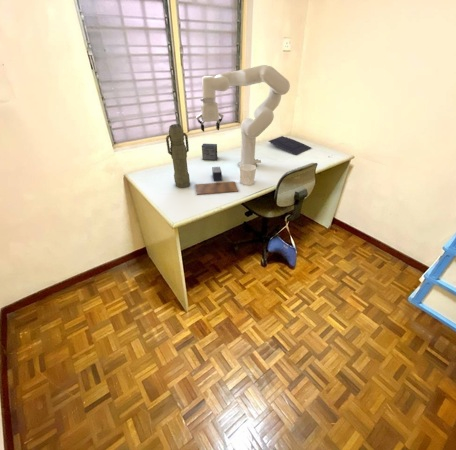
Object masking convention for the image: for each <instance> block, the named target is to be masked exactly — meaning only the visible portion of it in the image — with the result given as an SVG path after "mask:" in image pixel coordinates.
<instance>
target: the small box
mask: <svg viewBox="0 0 456 450" xmlns="http://www.w3.org/2000/svg"><path fill="white" fill-rule="evenodd" d="M201 155H202V156H201V157H202V160H203V161H217V160H218V143H202V145H201Z"/></svg>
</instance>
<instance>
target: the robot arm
mask: <svg viewBox="0 0 456 450" xmlns="http://www.w3.org/2000/svg"><path fill="white" fill-rule="evenodd" d="M261 83H265V84H266V85H267V86H268V87H269V93H268V95H267V97H266V98H265V99H264V100H263V101H262V102H261V103H260V104H259V106H257V107H256V109H254V112H253V117H254V119H253V118H251V117H246V118H244V119H243V120H242V121H241V123H240V136H241V141H240V143H241V145H240V162H238V167H240V166H241V165H244V164H251V165H254V166H256V167H257V164H261V163H262V160H261V159H258V158H257V159H256V157H255V156H256V143H257V141H256V138H258V137H259V136H260V135H261V134H262V133H264V131H265V130H266V129H268V127H269V126H271V124H272V122H273V121H274V118H275V115H274V111H275V110H276V109H277V108H278V106H279V105H280V103H281V100H282V96H284V95H286V94H287V93H288V92H290V89H291V85H290V81H289V80H288V79H287V78H286V77H285V76H284V75H283V74H282V73H280V72H279V71H278V70H277V69H276V68H275V67H273V66H272V65H267V64H262V65H258V66H253V67H249V68H244V69H238V70H234V71H228V72H222V73H218V74H217V75H215V76H212V75H204V76H202V77H201V89H202V91H201V92H202V98H200V100H199V101H200V102H202V103H201V111H200V114H198V115H196V117H195V119H196V121H197V122H198V124H199V125H200V130H201V131H202V132H203V133H204V132H205V123H209V122H210V123H211V122H216V123H215V129H216V130H217V131H220V127H221V126H220V125H221V122H222V121H223V118H224V115H223V114H222V113H220V112H219V105H218V102H216V101H217V99H216V98H217V97H216V95H217V94H216V91H217V92H225V91H228V90H229V88H230V87H236V86H237V87H247V86H252V85H256V84H261ZM200 119H201V120H200Z"/></svg>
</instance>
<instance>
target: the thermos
mask: <svg viewBox="0 0 456 450" xmlns="http://www.w3.org/2000/svg"><path fill="white" fill-rule="evenodd" d="M165 141H166V148H167V153H168V155H170V157H171V160H172V165H173V171H174V172H173V178H174V179H173V180H174V183H175V187H176V188H178V189H186V188H188V187H189V186H191V180H190V179H191V178H190V173H189V169H188V161H187V158H188V152H190V147H189V137H188V135H187V133H185V132H184V130H183V127H182V125H181V124H178V123H173V124H171V125H169V127H168V134H167V135H166V137H165Z"/></svg>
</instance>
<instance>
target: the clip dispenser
mask: <svg viewBox="0 0 456 450" xmlns="http://www.w3.org/2000/svg"><path fill="white" fill-rule="evenodd" d="M211 171H212V172H211V173H212V179H213V181H214V182H219V181H220V182H222V180H223V174H222V172H223V171H222V168H221V166H212V167H211Z"/></svg>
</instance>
